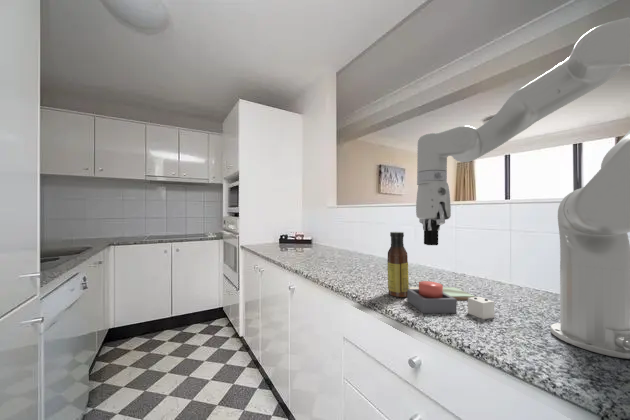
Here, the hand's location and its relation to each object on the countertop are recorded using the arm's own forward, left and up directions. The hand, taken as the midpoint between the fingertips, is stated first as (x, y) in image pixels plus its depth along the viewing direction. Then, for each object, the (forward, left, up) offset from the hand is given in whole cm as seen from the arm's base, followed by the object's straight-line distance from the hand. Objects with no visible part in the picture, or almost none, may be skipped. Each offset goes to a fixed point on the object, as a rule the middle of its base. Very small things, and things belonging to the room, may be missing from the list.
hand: (430, 244), depth 68 cm
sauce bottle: (+10, +5, -17) cm, 21 cm away
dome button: (0, 0, -14) cm, 14 cm away
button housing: (0, 0, -17) cm, 17 cm away
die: (-6, -10, -17) cm, 21 cm away
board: (+10, -9, -17) cm, 22 cm away
